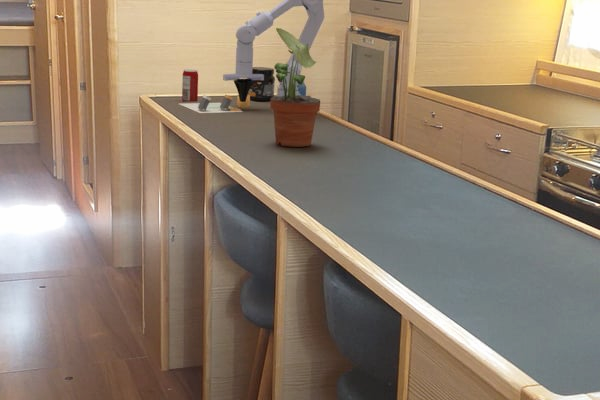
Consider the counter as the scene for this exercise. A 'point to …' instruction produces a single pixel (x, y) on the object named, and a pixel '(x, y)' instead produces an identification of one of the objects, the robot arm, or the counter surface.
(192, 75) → the soda can
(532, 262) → the counter surface
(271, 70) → the supplement container
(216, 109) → the panel
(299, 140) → the potted plant
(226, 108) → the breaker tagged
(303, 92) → the perfume bottle
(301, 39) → the robot arm
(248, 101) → the cap
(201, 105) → the breaker
